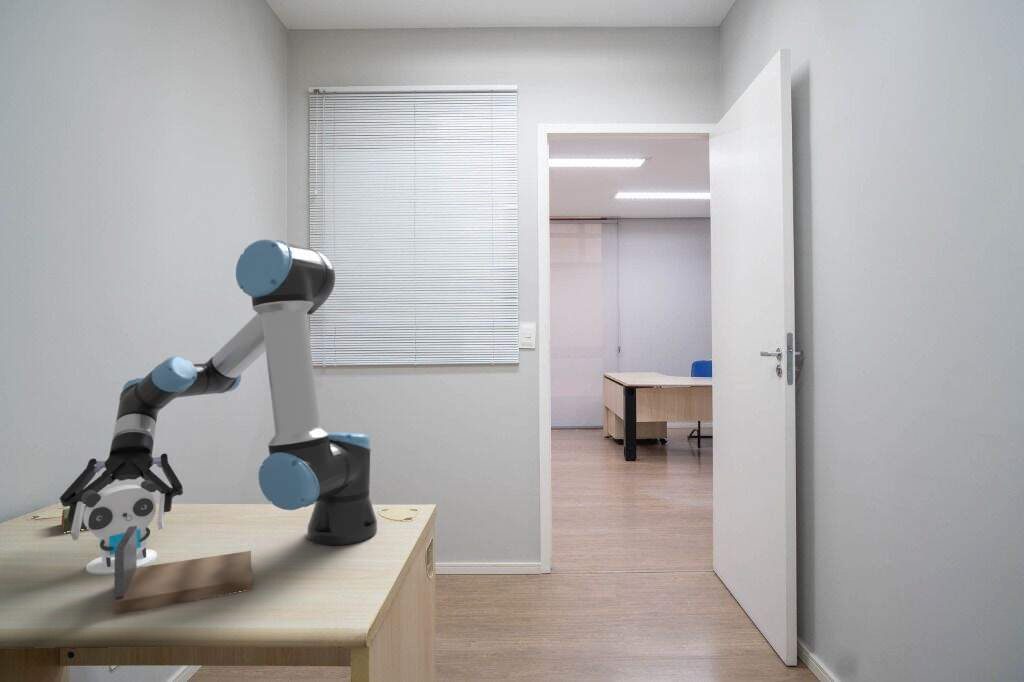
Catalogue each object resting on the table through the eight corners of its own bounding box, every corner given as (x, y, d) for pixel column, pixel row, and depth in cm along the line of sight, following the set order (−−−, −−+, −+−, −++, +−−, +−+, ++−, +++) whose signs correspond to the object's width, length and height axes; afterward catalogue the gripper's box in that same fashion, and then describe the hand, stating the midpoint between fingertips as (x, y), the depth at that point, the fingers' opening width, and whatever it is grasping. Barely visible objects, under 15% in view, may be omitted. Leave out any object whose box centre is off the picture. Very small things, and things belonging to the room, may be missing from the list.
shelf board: (250, 560, 108) (250, 550, 108) (251, 590, 95) (251, 578, 95) (129, 579, 99) (129, 568, 99) (112, 614, 86) (112, 602, 86)
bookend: (136, 569, 99) (136, 525, 99) (123, 598, 88) (123, 548, 88) (128, 570, 98) (128, 526, 98) (114, 599, 87) (114, 550, 87)
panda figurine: (89, 580, 98) (90, 498, 98) (75, 563, 106) (76, 487, 106) (165, 560, 108) (165, 485, 107) (146, 546, 115) (147, 475, 115)
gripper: (200, 445, 126) (194, 531, 113) (64, 454, 115) (40, 550, 102) (198, 426, 121) (192, 512, 108) (57, 434, 110) (30, 531, 97)
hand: (118, 531), depth 105 cm, fingers open, 13 cm apart
